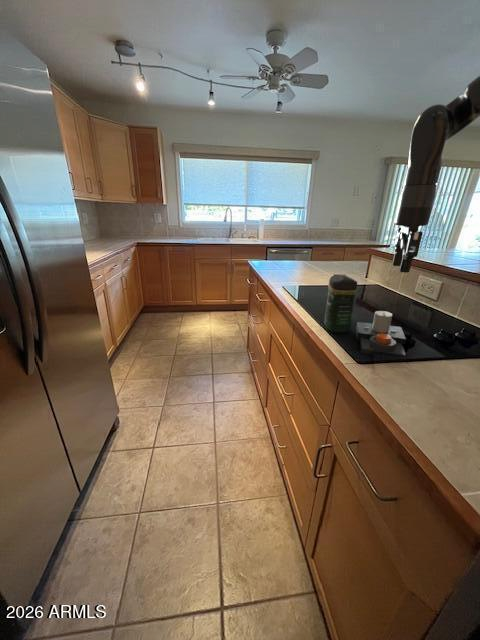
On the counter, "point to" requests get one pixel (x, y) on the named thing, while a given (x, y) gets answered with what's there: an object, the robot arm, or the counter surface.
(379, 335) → the power button
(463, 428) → the counter surface
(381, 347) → the power block
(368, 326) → the fryer panel
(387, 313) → the timer knob
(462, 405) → the counter surface
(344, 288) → the coffee jar
